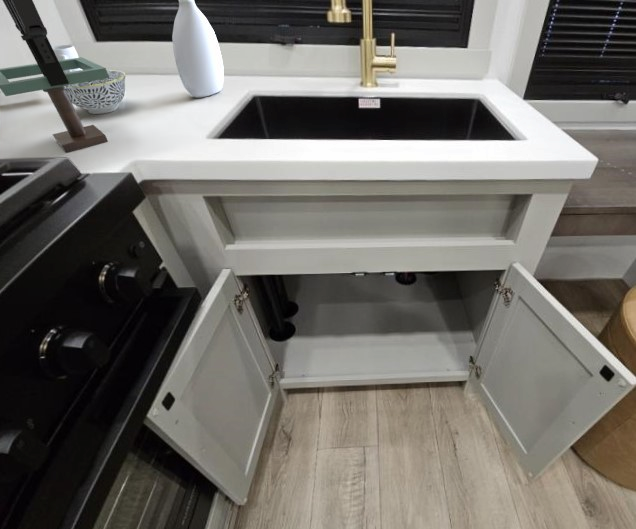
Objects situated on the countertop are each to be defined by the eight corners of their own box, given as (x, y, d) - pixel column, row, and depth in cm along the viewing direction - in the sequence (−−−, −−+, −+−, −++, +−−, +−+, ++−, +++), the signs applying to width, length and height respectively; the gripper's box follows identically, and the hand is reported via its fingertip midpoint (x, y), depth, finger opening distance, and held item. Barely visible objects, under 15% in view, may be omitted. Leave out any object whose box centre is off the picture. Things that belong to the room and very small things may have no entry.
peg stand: (56, 141, 69) (23, 83, 61) (96, 131, 73) (70, 76, 65) (65, 152, 64) (32, 92, 57) (108, 141, 68) (81, 83, 61)
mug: (68, 96, 93) (43, 46, 85) (94, 92, 96) (72, 43, 88) (70, 105, 87) (44, 52, 79) (98, 100, 90) (75, 49, 82)
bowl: (103, 123, 76) (88, 88, 71) (53, 117, 80) (34, 83, 75) (149, 103, 87) (138, 71, 82) (103, 98, 91) (90, 67, 86)
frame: (-7, 80, 61) (-13, 70, 60) (85, 65, 69) (81, 57, 68) (5, 96, 52) (-2, 85, 51) (109, 77, 60) (105, 68, 59)
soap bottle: (215, 85, 99) (190, -34, 81) (233, 89, 96) (212, -34, 78) (175, 97, 91) (138, -33, 73) (194, 102, 87) (160, -34, 69)
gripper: (-2, -134, 38) (94, 87, 54) (-17, -115, 46) (71, 72, 62) (-88, -144, 35) (42, 96, 50) (-88, -122, 43) (25, 79, 58)
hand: (58, 83), depth 56 cm, fingers closed on frame, 2 cm apart
